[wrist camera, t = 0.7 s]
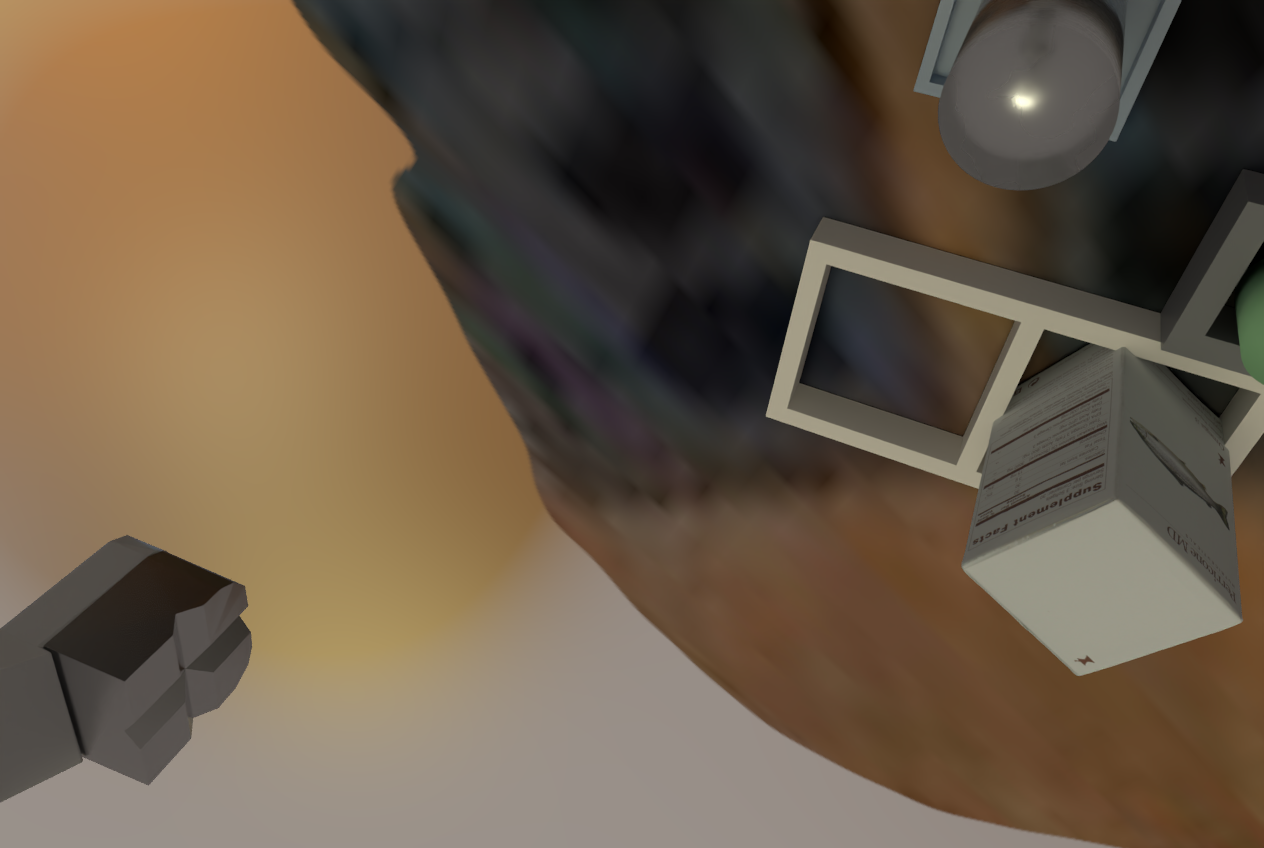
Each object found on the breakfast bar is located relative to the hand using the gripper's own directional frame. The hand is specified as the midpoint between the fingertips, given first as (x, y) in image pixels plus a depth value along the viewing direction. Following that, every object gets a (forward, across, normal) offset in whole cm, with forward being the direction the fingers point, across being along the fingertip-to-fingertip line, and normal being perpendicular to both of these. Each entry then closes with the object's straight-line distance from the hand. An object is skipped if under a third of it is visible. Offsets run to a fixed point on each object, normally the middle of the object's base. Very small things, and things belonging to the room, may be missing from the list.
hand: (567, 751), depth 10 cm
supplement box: (+38, -14, +14) cm, 43 cm away
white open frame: (+38, -9, +14) cm, 42 cm away
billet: (+36, -4, -3) cm, 36 cm away
